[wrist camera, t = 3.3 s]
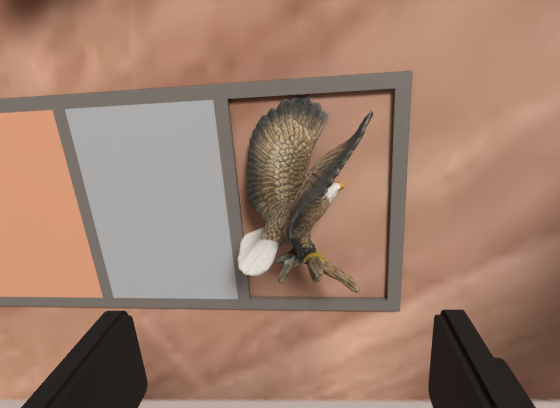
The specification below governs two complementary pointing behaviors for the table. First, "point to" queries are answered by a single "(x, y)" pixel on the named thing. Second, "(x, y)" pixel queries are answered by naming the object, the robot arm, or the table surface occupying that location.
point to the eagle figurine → (292, 189)
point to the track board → (152, 197)
